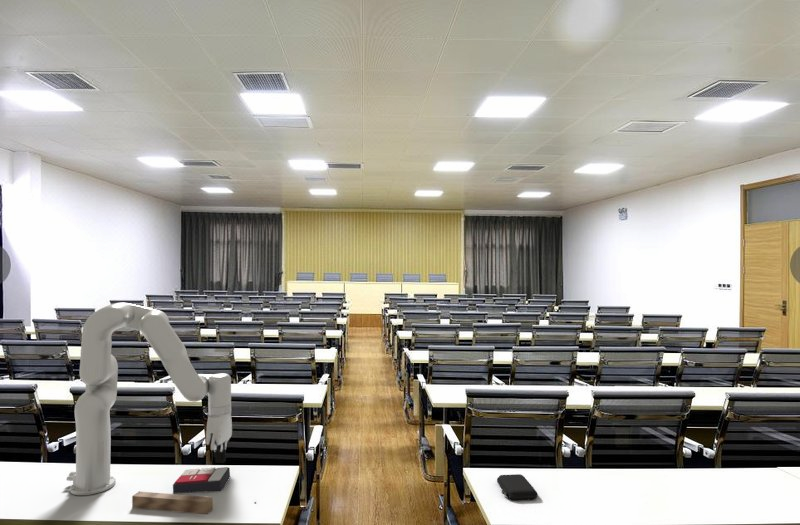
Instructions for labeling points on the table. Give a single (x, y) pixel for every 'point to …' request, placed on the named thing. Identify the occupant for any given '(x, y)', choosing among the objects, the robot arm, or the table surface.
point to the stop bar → (172, 502)
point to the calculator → (202, 480)
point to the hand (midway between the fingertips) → (220, 461)
